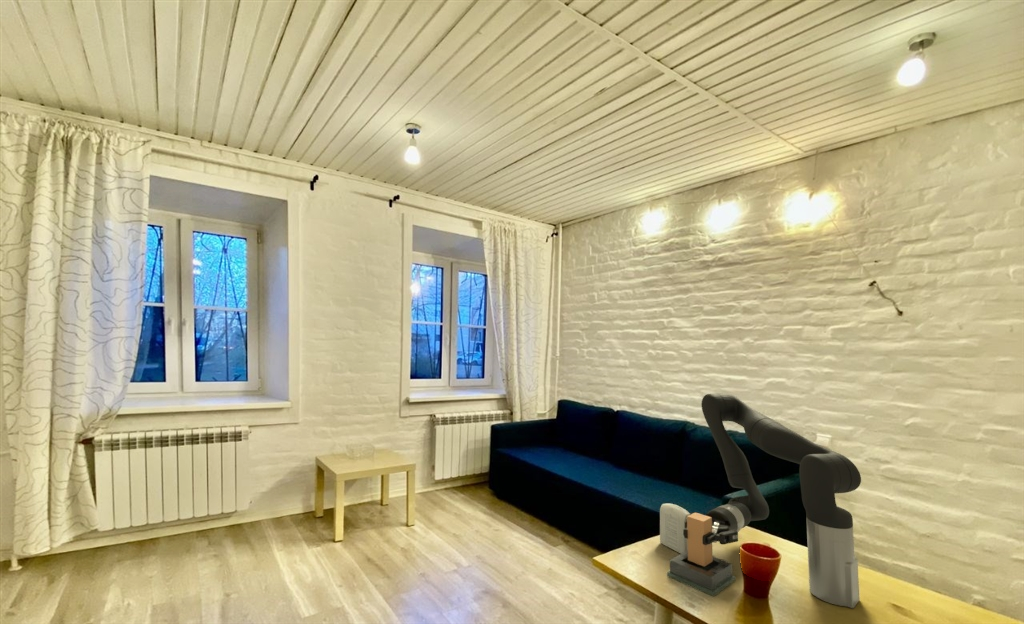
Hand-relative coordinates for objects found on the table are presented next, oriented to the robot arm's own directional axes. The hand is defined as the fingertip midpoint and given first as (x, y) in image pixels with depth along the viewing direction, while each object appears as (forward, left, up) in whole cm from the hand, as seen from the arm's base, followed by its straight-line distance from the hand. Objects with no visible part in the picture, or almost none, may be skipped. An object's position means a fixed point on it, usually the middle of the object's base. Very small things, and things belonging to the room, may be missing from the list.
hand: (694, 537), depth 112 cm
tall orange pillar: (0, -3, -6) cm, 7 cm away
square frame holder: (0, -3, -11) cm, 11 cm away
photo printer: (+13, -14, -11) cm, 22 cm away
